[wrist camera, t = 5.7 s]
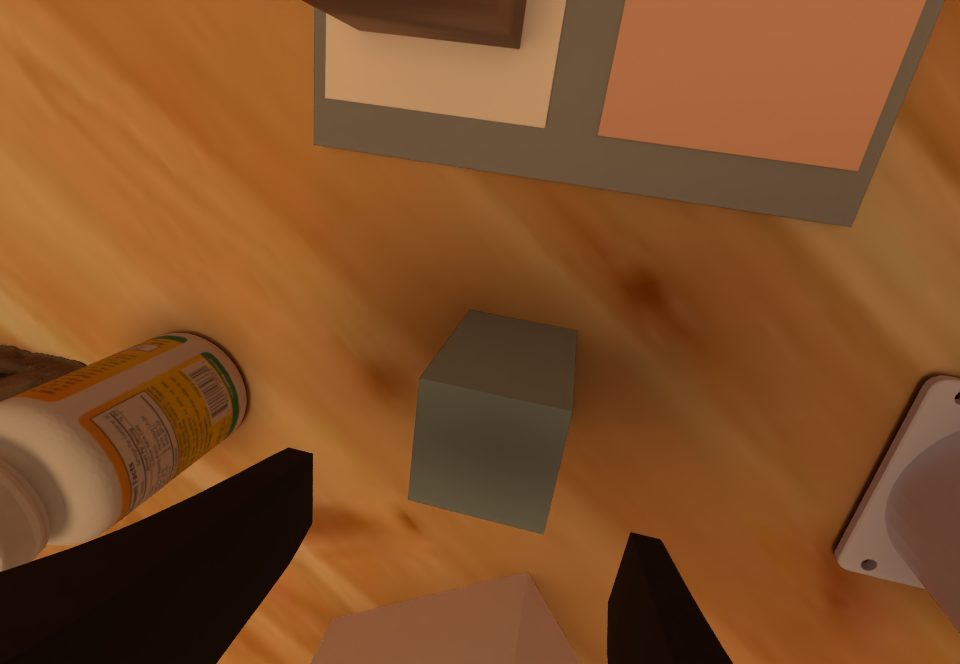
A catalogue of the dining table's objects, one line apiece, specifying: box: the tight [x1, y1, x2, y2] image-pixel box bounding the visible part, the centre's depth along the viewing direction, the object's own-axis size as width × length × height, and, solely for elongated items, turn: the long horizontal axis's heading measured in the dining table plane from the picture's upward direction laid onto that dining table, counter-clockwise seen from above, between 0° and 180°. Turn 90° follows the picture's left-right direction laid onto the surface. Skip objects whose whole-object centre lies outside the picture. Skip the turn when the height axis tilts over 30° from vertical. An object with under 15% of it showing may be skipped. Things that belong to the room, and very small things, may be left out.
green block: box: [408, 310, 577, 535], centre depth 16 cm, size 4×4×6 cm
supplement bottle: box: [0, 333, 247, 572], centre depth 18 cm, size 5×5×10 cm
